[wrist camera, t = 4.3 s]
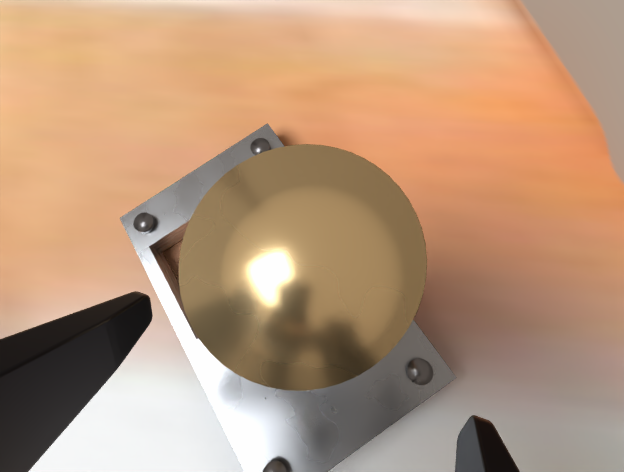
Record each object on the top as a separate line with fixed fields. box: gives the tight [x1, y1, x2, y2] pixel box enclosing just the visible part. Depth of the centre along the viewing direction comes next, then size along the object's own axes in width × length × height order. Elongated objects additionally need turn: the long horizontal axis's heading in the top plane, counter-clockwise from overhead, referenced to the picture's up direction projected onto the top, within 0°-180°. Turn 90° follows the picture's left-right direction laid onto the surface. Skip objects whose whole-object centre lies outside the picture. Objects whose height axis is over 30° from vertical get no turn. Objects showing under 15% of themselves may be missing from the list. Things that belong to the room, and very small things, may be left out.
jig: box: [120, 123, 456, 472], centre depth 19 cm, size 18×11×2 cm, turn 33°
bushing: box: [179, 144, 427, 391], centre depth 12 cm, size 4×4×12 cm
